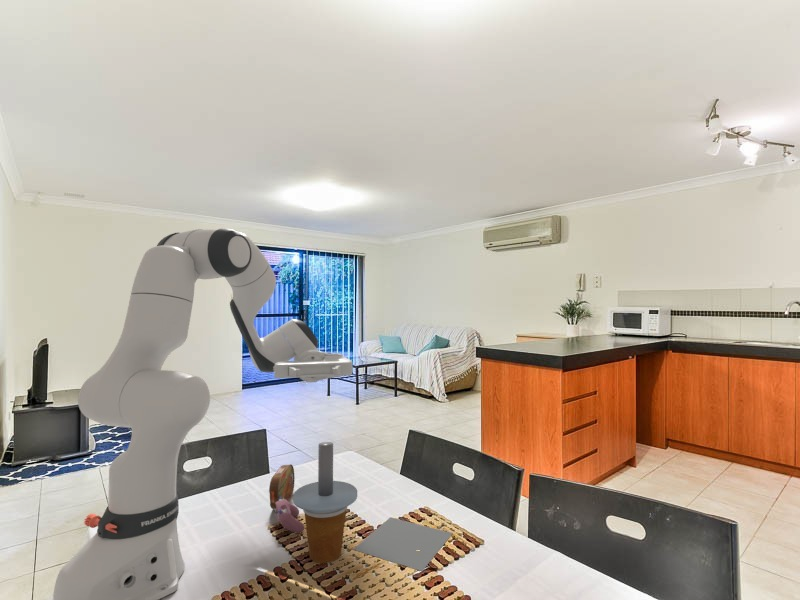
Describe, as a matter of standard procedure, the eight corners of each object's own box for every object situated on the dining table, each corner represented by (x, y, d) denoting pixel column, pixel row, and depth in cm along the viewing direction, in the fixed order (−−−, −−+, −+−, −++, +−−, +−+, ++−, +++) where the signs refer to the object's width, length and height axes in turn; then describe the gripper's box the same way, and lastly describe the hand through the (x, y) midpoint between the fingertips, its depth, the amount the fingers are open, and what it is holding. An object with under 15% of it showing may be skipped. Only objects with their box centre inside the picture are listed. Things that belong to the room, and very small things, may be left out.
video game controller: (283, 523, 106) (269, 499, 105) (300, 512, 107) (287, 488, 106) (287, 543, 96) (273, 517, 95) (306, 531, 98) (292, 505, 97)
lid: (331, 517, 80) (332, 458, 80) (279, 502, 86) (279, 448, 86) (369, 491, 92) (369, 440, 92) (320, 480, 98) (320, 432, 98)
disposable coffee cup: (305, 574, 82) (305, 510, 83) (298, 549, 91) (298, 491, 92) (354, 564, 86) (354, 502, 86) (342, 540, 95) (342, 485, 95)
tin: (279, 515, 107) (279, 480, 107) (266, 515, 107) (267, 480, 107) (295, 490, 122) (295, 459, 122) (284, 490, 122) (284, 459, 122)
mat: (422, 573, 83) (422, 571, 83) (352, 551, 90) (352, 549, 90) (452, 535, 97) (452, 533, 97) (390, 519, 104) (390, 517, 104)
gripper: (272, 355, 118) (273, 361, 105) (347, 353, 124) (356, 358, 111) (272, 378, 118) (272, 387, 105) (347, 375, 124) (356, 383, 110)
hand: (316, 372), depth 108 cm, fingers open, 8 cm apart
